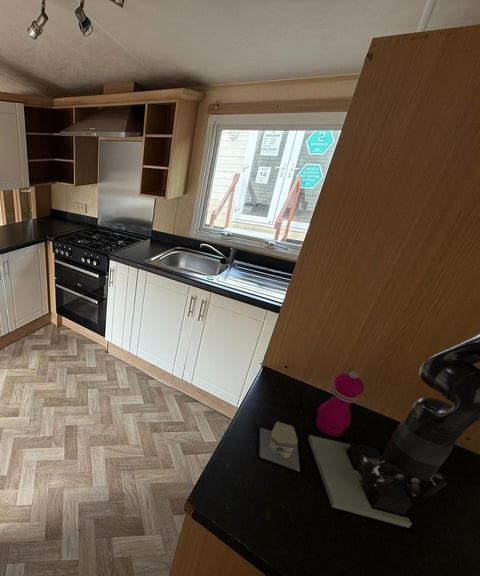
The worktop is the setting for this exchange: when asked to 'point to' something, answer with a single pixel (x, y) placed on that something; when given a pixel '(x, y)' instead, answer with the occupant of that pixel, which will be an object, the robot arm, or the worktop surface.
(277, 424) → the stacked layers on plate
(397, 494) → the black block
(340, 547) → the worktop surface
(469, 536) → the worktop surface
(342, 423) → the pepper mill
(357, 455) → the dark charcoal cube
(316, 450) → the pale green e-shaped block
